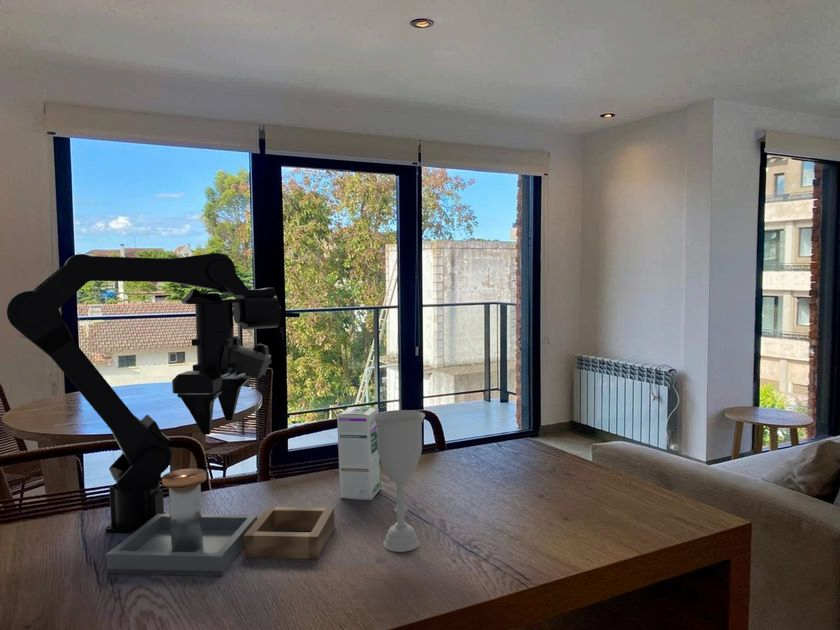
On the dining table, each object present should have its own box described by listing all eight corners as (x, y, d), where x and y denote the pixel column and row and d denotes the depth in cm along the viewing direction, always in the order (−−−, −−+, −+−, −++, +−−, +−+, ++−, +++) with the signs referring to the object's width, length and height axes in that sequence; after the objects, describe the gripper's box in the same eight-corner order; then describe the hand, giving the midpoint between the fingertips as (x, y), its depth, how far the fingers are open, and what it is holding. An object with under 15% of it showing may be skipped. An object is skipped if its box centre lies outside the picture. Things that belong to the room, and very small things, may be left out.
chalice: (387, 559, 79) (384, 424, 78) (367, 539, 85) (364, 414, 84) (436, 547, 83) (434, 417, 81) (413, 529, 89) (411, 408, 87)
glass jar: (157, 555, 80) (153, 482, 79) (177, 537, 86) (173, 468, 85) (198, 556, 80) (195, 482, 79) (215, 537, 85) (212, 468, 84)
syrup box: (372, 500, 100) (370, 414, 99) (338, 498, 101) (336, 413, 100) (381, 488, 106) (380, 406, 105) (349, 486, 107) (347, 405, 106)
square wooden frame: (244, 557, 80) (243, 535, 80) (268, 526, 90) (268, 506, 90) (318, 558, 80) (317, 536, 80) (334, 527, 90) (334, 507, 89)
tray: (107, 573, 77) (106, 554, 76) (158, 530, 90) (158, 513, 89) (222, 575, 76) (221, 556, 75) (257, 531, 88) (257, 515, 88)
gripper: (243, 337, 87) (246, 443, 88) (281, 326, 106) (284, 414, 107) (168, 337, 88) (172, 442, 89) (219, 326, 107) (222, 413, 108)
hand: (218, 427), depth 98 cm, fingers open, 9 cm apart
